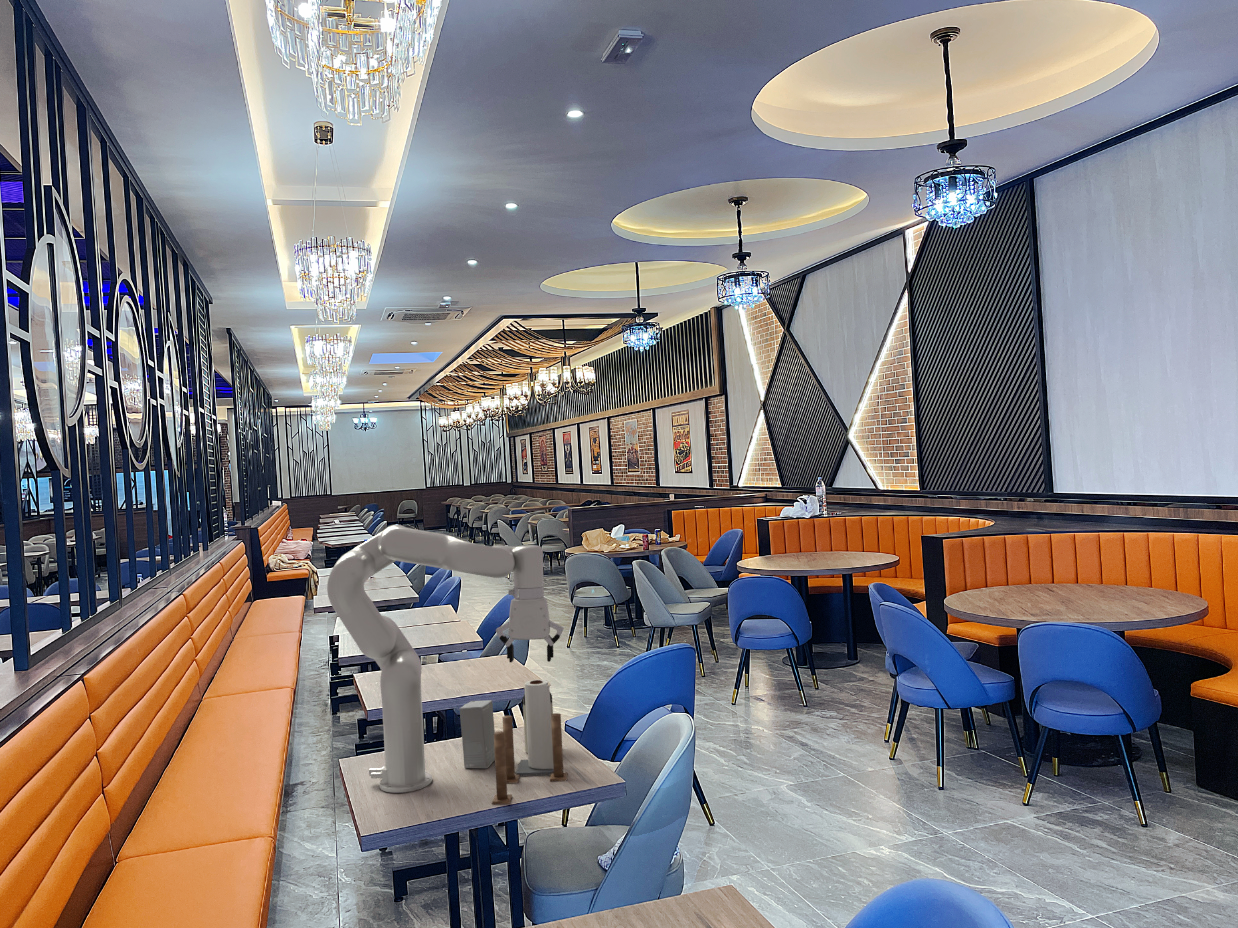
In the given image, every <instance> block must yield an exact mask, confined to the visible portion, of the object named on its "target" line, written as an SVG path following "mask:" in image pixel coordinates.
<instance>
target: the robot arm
mask: <svg viewBox="0 0 1238 928" xmlns="http://www.w3.org/2000/svg"><path fill="white" fill-rule="evenodd" d="M395 562H402V563H407V564H415V565H421V566H426V567H431V568H432V567H433V568H436V569H443V570H446V571H453V572H454V571H455V572H460V573H465V574H469V575H477V576H481V577H487V578H494V579H503V578H505V577H507V576H509V575H510V574H511V573H513V588H511V589H508V596H512V597H513V599H511V600H510V605H509V606H510V607H509V616H508V617H509V618H508V622H506V623H504V624H502V625H500V626H499V627H497V628H496V629H495V632H496V635H497V636H498V638H499V641H501V642H502V643H503V644H504V645H505V647H506V658H507V659H509V660H508V661H509V663H513V662H514V660H515V655H514V653H515V650H514V649H515V647H514V644H513V642H514V641H517V640H518V641H525V640H527V641H528V640H531V641H532V640H544V641H545V642H546V643H547V646H546V659H547V662H548V663H550V662H551V660H552V658H554V645H555V644H556V643H557V642H558V640H559V639H560V638H561V636H562V633H563V631H564V626H562V625H560V624H558V623H556V622H554V621H551V620H550V612H549V611H550V610H549V605H548V600H547V598H546V597H544V595H545V594H544V593H545V592H544V553H543V548H542V547H541V546H540V545H536V544H535V545H534V544H528V545H527V544H526V545H519V546H509V545H501V544H500V545H499V544H498V545H492V546H489V545H485V544H479V543H473V542H469V541H465V540H462V539H459V538H457V537H455V536H453V535H448V534H445V533H439V532H432V531H427V530H422V529H421V530H420V529H415V528H410V527H406V526H405V525H401V524H391V525H389V526H388V527H386V528H385V529H383V530H381V531H380V532H379V533H377V534H376V535H374V536H373V537H371V538H370V539H367V540H366V541H364V542H363V543H360V544H359V545H357V546H355V547H354V548H353V549H351V550H349V551H347V552H346V553H344V554H342V555H341V556H340V558H338V560H336V563H335V564H334V566H333V567H332V569H331V571H330V574H329V576H328V579H327V584H326V585H327V586H326V591H327V597H328V600H329V603H330V604H331V607H332V608H333V610H334V611H335V613H336V615H337V617H338V618H339V620H340V621H341V623H342V624H343V626H344V627H345V630H347V632H348V633H349V635H350V636H351V638H352V639H353V641H354V642H355V644H356V646H357V647H358V649H359V651H360V652H361V653H362V654H363V655H364V656H365V657H367V658H369V659H373V660H374V661H375V663H376V664H377V666H378V667H379V669H380V670H381V673H380V678H379V679H380V680H379V683H380V696H381V707H382V708H381V710H382V724H383V741H384V742H383V744H384V745H383V746H384V747H383V748H384V766H382V767H379V768H378V767H370V768H369V770H368V775H369V777H370V779H372V780H373V779H380V781H379V789H380V790H381V791H383V792H386V793H391V794H392V793H393V794H394V793H395V794H396V793H397V794H400V793H402V794H403V793H408V792H413V791H417V790H421V789H423V788H425V787H427V786H428V785H430V784H431V783H432V780H433V776H432V774H431V773H430V772H428V771H426V759H425V740H424V739H425V737H424V720H423V719H424V718H423V702H422V701H423V700H422V668H423V667H422V661H421V659H420V656H419V655H418V654H417V652H416V651H415V649H414V648H413V645H411V643H410V642H409V640H408V639H407V637H406V636H405V635H404V633H403V632H402V630H401V628H400V627H399V626H398V625H397V623H396V622H395V621H394V620H393V618H390V617H388V616H385V615H383V614H381V612H380V611H379V610H378V608H377V606H375V604H374V602H373V600H372V599H371V598H370V597H369V595H368V594H367V592H366V590H365V583H366V582H367V581H368V580H369V579H370V578H371V577H373V576H375V574H377V573H379V572H381V571H382V570H383V569H386V568H387V567H389V566H390V565H392V564H393V563H395ZM551 628H552V629H554V630H555V631H556V633H555V635H554V636H553V637H552V636H551V635H550V633H551ZM507 629H508V635H509V638H508V637H507V636H506V635H505V634H504V631H505V630H507Z"/></svg>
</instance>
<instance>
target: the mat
mask: <svg viewBox="0 0 1238 928" xmlns="http://www.w3.org/2000/svg"><path fill="white" fill-rule="evenodd" d="M551 773H554V769H534V768H530V767H529V762H528V759H520V762H519V764H518V766H517V769H516V770H515V775H519V776H520V777H533V776H535V777H536V776H551Z"/></svg>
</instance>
